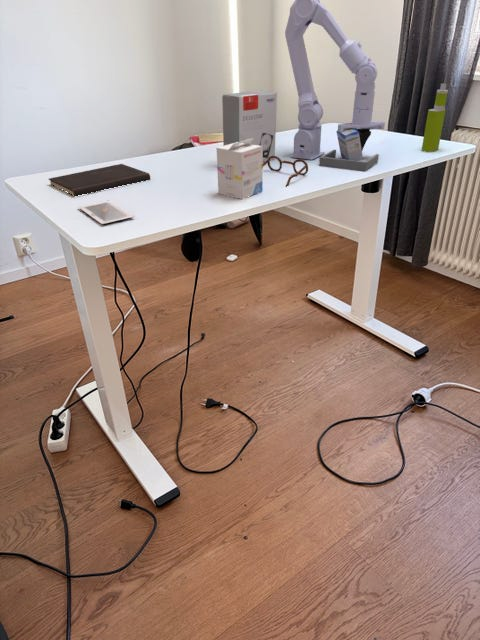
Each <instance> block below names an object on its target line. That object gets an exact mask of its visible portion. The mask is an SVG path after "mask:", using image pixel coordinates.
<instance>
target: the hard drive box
mask: <svg viewBox="0 0 480 640" xmlns="http://www.w3.org/2000/svg"><path fill="white" fill-rule="evenodd" d="M277 97H278V92H274V91H269V90H268V91H267V90H254V91H245V92H233V93H228V94H227V93H225V94H222V96H221V98H222V99H221V100H222V102H221V103H222V136H223V139H222V140H223V141H222V142H223V145H222V146H225V145H228V144H232V143H236V142H240V141H244V140H247V139H250V138H254V139H253V140H252V141H251V143H250V144H252V145H259V146H263V163H264V162H266V161H267V160H268V158H269V157H270V156H276V134H277V133H276V129H277V128H276V127H277V102H278V99H277ZM243 143H245V142H243ZM275 160H276V159H275V158H271V159H270V162H271V161H272V162H273V161H275Z"/></svg>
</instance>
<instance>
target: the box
mask: <svg viewBox="0 0 480 640" xmlns="http://www.w3.org/2000/svg"><path fill="white" fill-rule="evenodd" d="M336 154H337V149H333V150H330V151H328V152H327V153H324V154H323V155H321V156H319V160H318V161H319V163H318V166H320V167H321V166H322V167H328V168H335V169H343V170H349V171H350V170H352V171H359V172H367V171H368V170H370V169H371V168H372V167H374V166H375V165H377V164H378V162H379V156H380V154H378V153H376V154H374V155H373V156H371V157H369V159H367V160H366V161H363V160H362V161H361V160H356V161H354V160H345V159H344V158H338V157H337V158H336V156H337V155H336Z"/></svg>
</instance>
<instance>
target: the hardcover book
mask: <svg viewBox="0 0 480 640" xmlns="http://www.w3.org/2000/svg"><path fill="white" fill-rule="evenodd" d="M146 180H148V181H151V174H150V172H146V171H143V170H141V169H138V168H135V167H132V166H129V165H126V164H124V163H119V164H113V165H109V166H105V167H104V166H103V167H100V168H94V169H89V170H83V171H79V172H74V173H70V174H65V175H59V176H55V177H54V176H53V177H50V178H48V181H50V185H51V184H52V185H54V186H56V187H58V188H60V189H63V190H64V191H67V192H68V193H70V194H72V195H74V196H78V195H82V194H87V193H91V192H96V191H100V190H104V189H109V188H113V189H115V188H114V187H117V188H119V187H118V186H122V185H126V186H128V185H127V184H130V185H133V184H132V183H135V184H138V183H137V182H139V183H142V182H141V181H143V182H147V181H146ZM52 185H51V186H52ZM54 186H53V187H54ZM56 187H55V188H56ZM122 187H123V186H122ZM58 188H57V189H58ZM60 189H59V190H60ZM109 190H110V189H109ZM64 191H63V192H64ZM104 191H105V190H104ZM100 192H101V191H100ZM68 193H67V194H68ZM96 193H97V192H96ZM70 194H69V195H70ZM91 194H92V193H91ZM72 195H71V196H72ZM87 195H88V194H87ZM74 196H73V197H74Z"/></svg>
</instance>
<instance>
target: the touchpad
mask: <svg viewBox="0 0 480 640" xmlns="http://www.w3.org/2000/svg"><path fill="white" fill-rule="evenodd" d="M78 209H80V210H81V211H84V212H83V213H85V214H87V215H89V216H90V217H91V218H93V219H94V220H96V221H97V222H98V223H100V224H101V225H104V224H109V223H113V222H117V221H122V220H126V219H130V218H134V217H136V216H134V215H133V214H132V213H130V212H129V211H127V210H125V209H124V208H122V207H121V206H119V205H117V204H115V203H114V202H112V201H110V199H109V200H104V201H103V200H102V201H98V202H94V203H89V204H84V205H79V206H78Z"/></svg>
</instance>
